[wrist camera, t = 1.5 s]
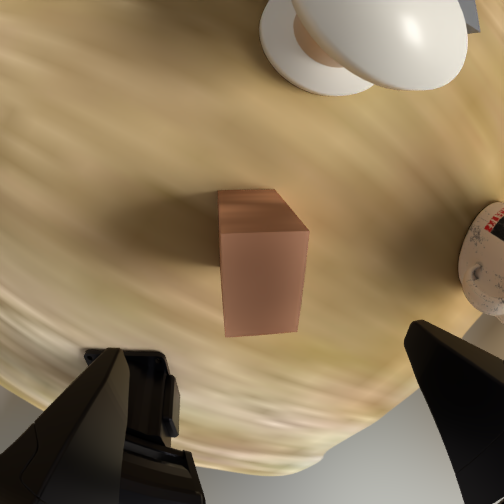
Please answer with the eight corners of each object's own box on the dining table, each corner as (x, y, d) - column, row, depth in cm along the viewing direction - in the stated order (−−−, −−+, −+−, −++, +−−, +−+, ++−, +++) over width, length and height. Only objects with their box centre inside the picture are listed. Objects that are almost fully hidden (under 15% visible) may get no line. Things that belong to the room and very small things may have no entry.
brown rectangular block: (220, 266, 17) (225, 337, 11) (217, 190, 15) (221, 233, 9) (271, 264, 17) (297, 331, 12) (274, 189, 15) (309, 230, 10)
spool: (258, 90, 13) (296, 66, 7) (259, -22, 10) (291, -94, 3) (380, 105, 14) (470, 110, 7) (377, 2, 11) (454, -32, 4)
